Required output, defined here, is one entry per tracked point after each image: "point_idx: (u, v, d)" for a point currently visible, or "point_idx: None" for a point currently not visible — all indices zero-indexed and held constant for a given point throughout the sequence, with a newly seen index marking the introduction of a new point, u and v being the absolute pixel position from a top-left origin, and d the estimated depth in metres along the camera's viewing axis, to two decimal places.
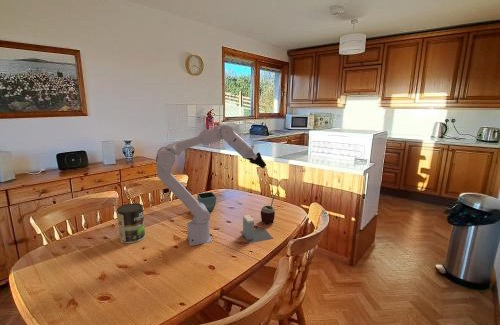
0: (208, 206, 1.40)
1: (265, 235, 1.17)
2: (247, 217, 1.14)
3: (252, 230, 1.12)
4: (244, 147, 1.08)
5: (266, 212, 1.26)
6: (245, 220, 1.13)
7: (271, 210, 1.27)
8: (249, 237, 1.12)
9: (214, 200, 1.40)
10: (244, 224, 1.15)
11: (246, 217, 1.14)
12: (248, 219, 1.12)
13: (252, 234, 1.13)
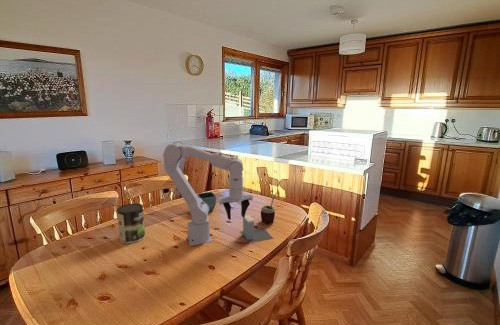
0: None
1: (265, 235, 1.17)
2: (247, 217, 1.14)
3: (252, 230, 1.12)
4: (229, 191, 1.07)
5: (266, 212, 1.26)
6: (245, 220, 1.13)
7: (271, 210, 1.27)
8: (249, 237, 1.12)
9: (214, 200, 1.40)
10: (244, 224, 1.15)
11: (246, 217, 1.14)
12: (248, 219, 1.12)
13: (252, 234, 1.13)
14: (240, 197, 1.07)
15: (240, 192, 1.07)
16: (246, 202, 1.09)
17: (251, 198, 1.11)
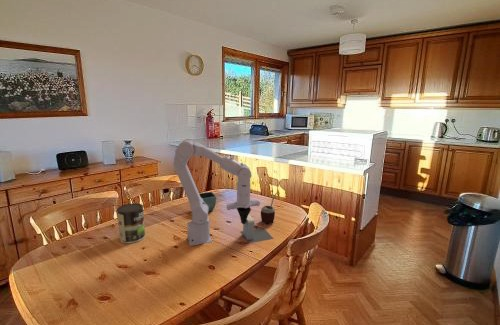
0: (208, 206, 1.40)
1: (265, 235, 1.17)
2: (247, 217, 1.14)
3: (252, 230, 1.12)
4: (237, 196, 1.09)
5: (266, 212, 1.26)
6: None
7: (271, 210, 1.27)
8: (249, 237, 1.12)
9: (214, 200, 1.40)
10: (244, 224, 1.15)
11: None
12: (248, 219, 1.12)
13: (252, 234, 1.13)
14: (248, 203, 1.09)
15: (248, 198, 1.08)
16: None
17: (258, 204, 1.13)
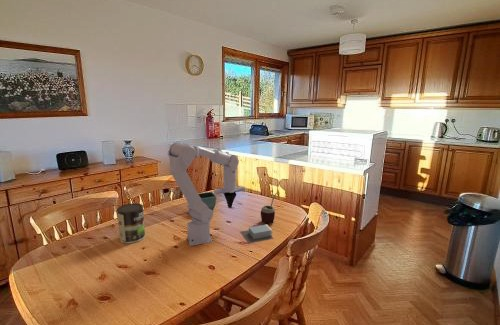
0: (208, 206, 1.40)
1: None
2: None
3: (262, 236, 1.15)
4: (224, 182, 1.18)
5: (266, 212, 1.26)
6: (267, 227, 1.18)
7: (271, 210, 1.27)
8: (256, 234, 1.13)
9: (214, 200, 1.40)
10: (261, 227, 1.18)
11: None
12: None
13: (258, 237, 1.14)
14: (233, 188, 1.18)
15: (233, 183, 1.18)
16: None
17: (243, 189, 1.22)
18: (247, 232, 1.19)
